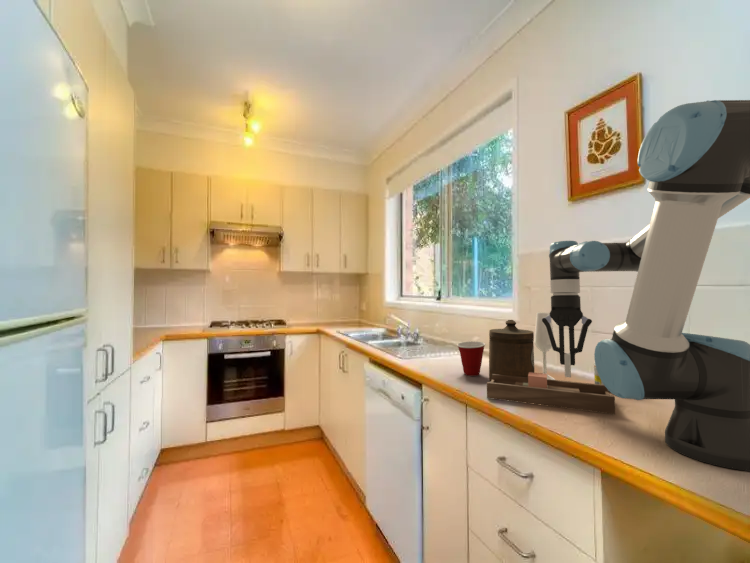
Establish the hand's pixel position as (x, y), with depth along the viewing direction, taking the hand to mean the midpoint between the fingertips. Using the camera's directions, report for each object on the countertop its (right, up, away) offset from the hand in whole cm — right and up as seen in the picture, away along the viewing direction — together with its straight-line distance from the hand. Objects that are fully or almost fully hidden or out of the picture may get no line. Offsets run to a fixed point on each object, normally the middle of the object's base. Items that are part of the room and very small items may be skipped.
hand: (567, 376), depth 99 cm
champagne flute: (+6, -8, +26) cm, 28 cm away
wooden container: (-8, -8, +22) cm, 24 cm away
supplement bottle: (+19, -8, +13) cm, 24 cm away
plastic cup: (-18, -9, +34) cm, 39 cm away
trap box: (-5, -8, +3) cm, 9 cm away
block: (-7, -5, +4) cm, 9 cm away
